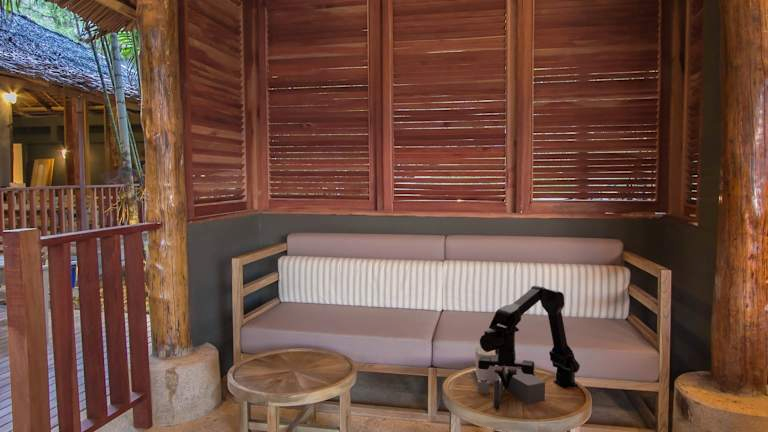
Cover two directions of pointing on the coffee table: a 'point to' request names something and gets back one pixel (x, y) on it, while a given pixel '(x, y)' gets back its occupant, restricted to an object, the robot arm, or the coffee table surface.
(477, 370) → the candle holder
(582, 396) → the coffee table surface
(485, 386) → the lighter
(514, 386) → the block
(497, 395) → the side door
